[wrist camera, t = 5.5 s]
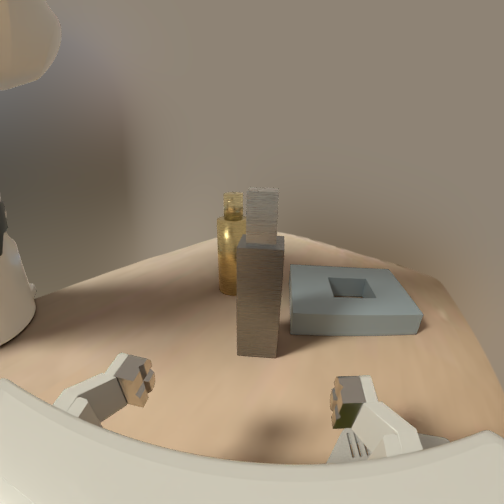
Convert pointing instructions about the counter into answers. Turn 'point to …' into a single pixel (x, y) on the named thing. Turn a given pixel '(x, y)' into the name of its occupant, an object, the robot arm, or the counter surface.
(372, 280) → the socket plate
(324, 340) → the counter surface
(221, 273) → the gold bottle
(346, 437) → the handheld gaming device
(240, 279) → the square bit
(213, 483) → the robot arm
